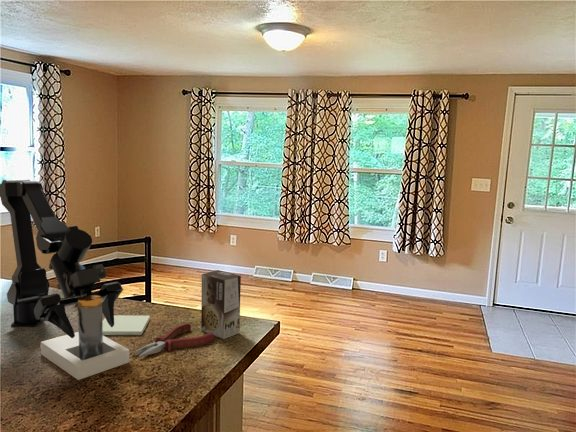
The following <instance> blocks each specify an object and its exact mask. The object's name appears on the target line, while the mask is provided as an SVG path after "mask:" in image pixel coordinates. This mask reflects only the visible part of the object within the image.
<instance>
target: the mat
mask: <svg viewBox="0 0 576 432" xmlns="http://www.w3.org/2000/svg"><path fill="white" fill-rule="evenodd" d="M150 320H151V315H115V314H114V326H113V327H111V326H110V325H109V324H108V322H107V320H106V318H105V317H104V318H103V319H102V322H103V336H142V335H143V334H144V332H145V329H146V328H147V327H148V324H149V322H150Z"/></svg>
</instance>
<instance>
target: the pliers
mask: <svg viewBox="0 0 576 432" xmlns="http://www.w3.org/2000/svg"><path fill="white" fill-rule="evenodd" d="M191 328H192V326H191V324H190V323H184V324H181V325H177V326H175V327H173V328H172V329H171V330H169V331H168V332H167V333H166V334H164V336H163V337H162V336H157V337H156V338H155V340H154V342H152V343H149V344H147V345H145V346H142V347H140V348H138V349H136V350H134V351H132V352H131V354H132V355H134V354H136V355H137V354H139V355H138V358H141V357H145V356H149V355H153V354H156V353H160V352H162V351H165V350H166V351H168V352H172V350H175V349H184V348H190V347H191V348H192V347H198V346H205V345H206V344H209V343H211V342H213V341H214V340H215V336H214V335H213V334H212V333H206V334H202V335H200V336H194V337H184V338H183V337H182V338H176V336H179V335H180V334H183V333H186V332H189V331H191ZM174 338H175V339H174Z"/></svg>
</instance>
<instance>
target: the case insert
mask: <svg viewBox="0 0 576 432" xmlns="http://www.w3.org/2000/svg"><path fill="white" fill-rule="evenodd" d="M74 334H75V337H74V338H71V337H70V336H68V335H67V334H65V335H60V336H57V337H52V338H50V339H46V340H42V341H40V354H41V355H42V356H43V357H44V358H46V359H48V360H49V361H51V362H52V363H53V364H54V365H56V366H57V367H59V368H60V369H62V370H63V371H65V372H66V373H67V374H68V375H70V376H71V377H73V378H75V380H77V381H79V380H83V379H85V378H89V377H91V376H94V375H96V374H99V373H102V372H106V371H107V370H110V369H113V368H117V367H119V366H123V365H125V364H128V363H130V349H128V348H127V347H126V346H123V345H121V344H119V343H118V342H116V341H114V340H112V339H110V338H109V337H107V336H106V335H103V354H102V355H98V356H95V357H92V358H89V359H86V360H83V361H82V360H81V359H79V331H74Z"/></svg>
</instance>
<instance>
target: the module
mask: <svg viewBox="0 0 576 432" xmlns="http://www.w3.org/2000/svg"><path fill="white" fill-rule="evenodd" d="M77 311H78V312H77V314H78V315H77V317H78V321H77V322H78V326H77V327H78V328H77V329H78V332H79V359H81V360H82V361H83V360H86V359H89V358H92V357H95V356H98V355H102V354H103V336H104V335H103V322H102V321H103V313H102V297H101V296H97V295H89V296H83V297H80V298H79V299H78V304H77Z"/></svg>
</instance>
